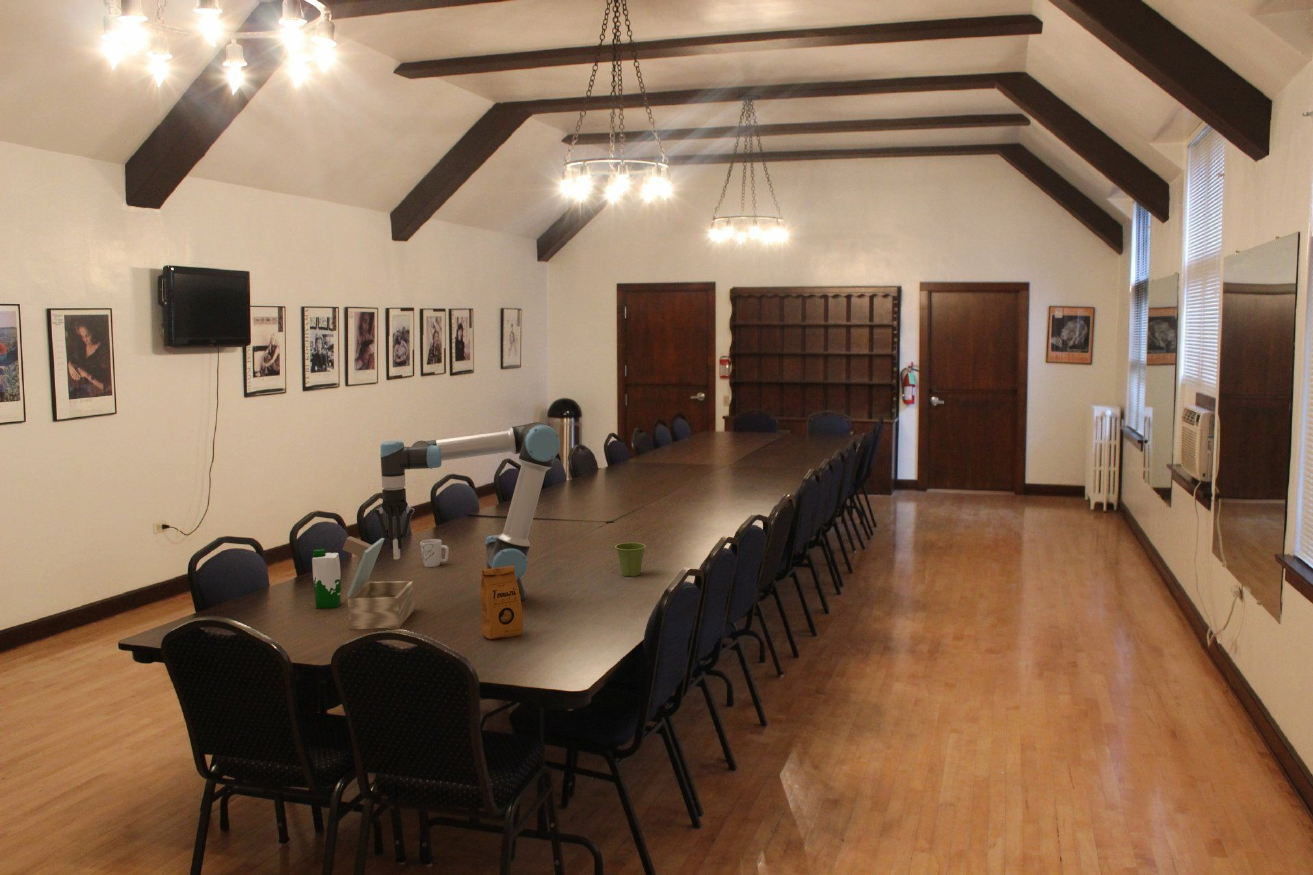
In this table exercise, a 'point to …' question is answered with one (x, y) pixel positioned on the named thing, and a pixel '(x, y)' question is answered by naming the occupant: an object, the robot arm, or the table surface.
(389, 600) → the box
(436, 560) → the mug
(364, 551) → the lid
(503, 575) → the coffee package
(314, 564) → the milk carton
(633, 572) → the plant pot
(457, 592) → the table surface
